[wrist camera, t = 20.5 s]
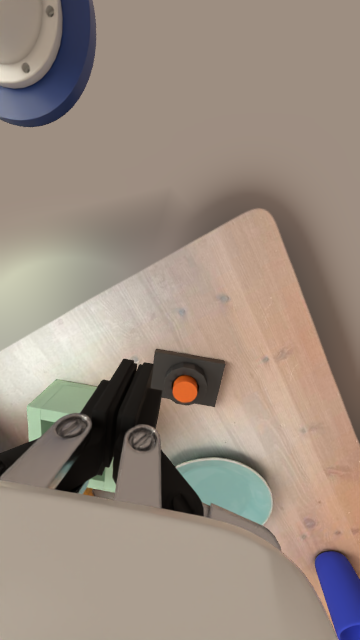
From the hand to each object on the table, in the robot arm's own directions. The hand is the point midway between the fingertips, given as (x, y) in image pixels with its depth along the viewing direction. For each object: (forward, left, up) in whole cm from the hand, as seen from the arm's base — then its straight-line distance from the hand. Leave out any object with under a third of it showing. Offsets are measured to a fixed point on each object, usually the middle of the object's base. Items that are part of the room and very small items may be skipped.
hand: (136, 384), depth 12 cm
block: (+4, -12, -22) cm, 25 cm away
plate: (+13, -36, -22) cm, 44 cm away
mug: (+43, -50, -22) cm, 69 cm away
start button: (+4, -12, -19) cm, 23 cm away
